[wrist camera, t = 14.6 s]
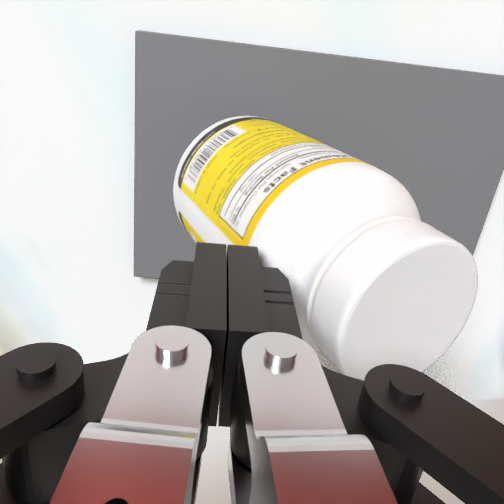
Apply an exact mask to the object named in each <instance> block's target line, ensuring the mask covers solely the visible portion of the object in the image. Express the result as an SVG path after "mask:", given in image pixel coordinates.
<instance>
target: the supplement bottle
mask: <svg viewBox="0 0 504 504" xmlns="http://www.w3.org/2000/svg"><path fill="white" fill-rule="evenodd" d="M173 196H174V205H175V208H176V212H177V215H178V217H179V220H180V222H181V223H182V225H183V227H184V228H185V230H186V231H187V233H188V234H189V235H190V237H191V238H192V239H193V241H194V242H195V243H196V244H197V242H204V243H217V244H226V254H227V246H228V244H230V245H242V246H255V247H258V253H259V260H260V267H272V268H278V269H279V270H280V271H281V272H282V273H283V274H284V275H285V276H286V277H287V278H288V279H289V283H290V287H291V291H292V293H291V294H292V296H293V300H294V305H295V309H296V313H297V317H298V321H299V326H300V330H301V334H302V338H303V340H304V341H305V342H307V343H308V344H309V345H310V346H311V347H312V348H319V349H320V351H321V352H322V353H323V354H324V355H325V357H326V358H328V359H329V360H330V361H331V363H332V364H333V365H334V366H335V367H336V368H337V369H338V370H339V371H340V372H341V373H342V374H343V375H346V376H349V377H353V378H356V379H360V380H363V381H364V379H365V376H366V374H367V373H368V371H369V370H371V369H372V368H374V367H376V366H379V365H383V364H397V365H403V366H407V367H410V368H413V369H415V370H417V371H420V372H423V371H425V370H426V369H427V368H428V367H430V366H431V365H432V364H433V363H435V362H436V361H437V360H438V359H439V358H440V357H441V356H442V355H443V354H444V352H445V351H446V350H447V349H448V348H449V347H450V346H451V344H452V343H453V342H454V340H455V339H456V338H457V336H458V335H459V333H460V332H461V330H462V328H463V327H464V325H465V323H466V321H467V319H468V317H469V315H470V313H471V310H472V307H473V305H474V302H475V298H476V294H477V288H478V273H477V267H476V263H475V260H474V258H473V256H472V255H471V253H470V252H469V251H468V250H467V249H466V248H465V247H464V246H463V245H462V244H461V243H459V242H457V241H456V240H454V239H452V238H450V237H449V236H447V235H445V234H444V233H442V232H440V231H438V230H437V229H435V228H434V227H432V226H431V225H429V224H426V223H424V222H422V221H421V219H420V215H419V211H418V209H417V206H416V204H415V202H414V200H413V198H412V196H411V195H410V193H409V192H408V191H407V189H406V188H405V187H404V186H403V185H402V184H401V183H400V182H399V181H398V180H396V179H395V178H394V177H392V176H391V175H389V174H387V173H386V172H384V171H382V170H380V169H378V168H376V167H375V166H373V165H370V164H368V163H366V162H364V161H361V160H359V159H357V158H355V157H352V156H350V155H348V154H346V153H343V152H342V151H339V150H337V149H335V148H332V147H330V146H328V145H326V144H323V143H321V142H319V141H317V140H315V139H312V138H310V137H308V136H305V135H303V134H301V133H299V132H297V131H294V130H292V129H290V128H288V127H286V126H283V125H281V124H278V123H276V122H273V121H271V120H268V119H265V118H261V117H256V116H237V117H231V118H227V119H224V120H222V121H219V122H217V123H215V124H213V125H212V126H210V127H208V128H207V129H205V130H204V131H203V132H201V133H200V134H199V135H198V136H197V137H196V138H195V139H194V140H193V141H192V143H191V144H190V145H189V146H188V148H187V149H186V150H185V152H184V154H183V156H182V157H181V159H180V162H179V164H178V167H177V170H176V174H175V179H174V186H173Z"/></svg>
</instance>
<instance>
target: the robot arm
mask: <svg viewBox="0 0 504 504" xmlns="http://www.w3.org/2000/svg"><path fill="white" fill-rule="evenodd" d="M291 293H292V291H291V287H290V283H289V279H288V278H287V277H286V276H285V275H284V274H283V273H282V272H281V271H280V270H279V269H278V268H272V267H260V260H259V253H258V247H255V246H242V245H230V244H228V246H227V254H226V244H217V243H204V242H197V244H196V251H195V259H194V262H193V261H180V260H172V261H171V262H170V263H169V264H168V265H167V266H165V267H164V268H163V269H162V270H161V273H160V277H159V281H158V285H157V289H156V295H155V297H154V301H153V305H152V309H151V313H150V317H149V321H148V325H147V329H146V332H144V333H142V334H141V335H140V336H138V337H137V338H136V340H135V341H134V343H133V344H132V347H131V349H130V352H129V353H127V354H126V355H123V356H121V357H118V358H115V359H112V360H107V361H102V362H96V363H90V364H83V360H82V357H81V356H80V354H79V353H78V352H77V351H76V350H74V349H72V348H71V347H69V346H66V345H63V344H58V343H35V344H30V345H26V346H22V347H19V348H17V349H14V350H12V351H10V352H8V353H6V354H4V355H2V356H0V459H1V458H2V461H3V462H2V463H1V464H0V504H195V500H196V492H197V487H198V480H199V473H200V466H201V458H202V452H203V451H204V449H205V446H206V442H207V432H208V426H216V423H217V414H218V405H219V426H226V427H230V447H229V454H228V470H229V481H230V492H231V503H232V504H445V503H444V502H443V501H442V500H440V499H439V498H438V497H437V496H435V495H434V494H433V493H432V492H431V491H429V490H428V489H427V488H426V487H424V486H423V485H422V484H421V483H419V480H420V477H421V475H422V472H423V471H425V472H426V473H427V474H429V475H430V476H431V477H432V478H434V479H435V480H436V481H437V482H439V483H440V484H441V485H443V486H444V487H445V488H446V489H448V490H449V491H450V492H451V493H453V494H454V495H455V496H457V497H458V498H459V499H460V500H461V501H463V502H464V503H465V504H504V425H503V424H502V423H500V422H498V421H497V420H495V419H494V418H492V417H491V416H489V415H488V414H486V413H484V412H483V411H481V410H480V409H478V408H476V407H475V406H474V405H472V404H470V403H469V402H467V401H466V400H464V399H463V398H461V397H460V396H458V395H456V394H455V393H453V392H452V391H450V390H449V389H447V388H446V387H444V386H442V385H441V384H439V383H438V382H436V381H435V380H433V379H432V378H430V377H428V376H427V375H425V374H423V373H422V372H420V371H417V370H415V369H413V368H410V367H407V366H403V365H397V364H383V365H379V366H376V367H374V368H372V369H371V370H369V371H368V373H367V374H366V376H365V379H364V381H363V380H360V379H356V378H353V377H349V376H346V375H342V374H339V373H336V372H334V371H331V370H329V369H327V368H325V367H324V366H322V365H321V364H320V361H319V358H318V356H317V354H316V352H315V350H314V349H313V348H312V347H311V346H310V345H309V344H308V343H307V342H305V341H304V340H303V338H302V334H301V330H300V326H299V321H298V317H297V313H296V309H295V305H294V300H293V296H292V294H291Z"/></svg>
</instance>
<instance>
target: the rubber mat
mask: <svg viewBox="0 0 504 504" xmlns="http://www.w3.org/2000/svg"><path fill="white" fill-rule="evenodd" d="M237 116H256V117H261V118H265V119H268V120H271V121H273V122H276V123H278V124H281V125H283V126H286V127H288V128H290V129H292V130H294V131H297V132H299V133H301V134H303V135H305V136H308V137H310V138H312V139H315V140H317V141H319V142H321V143H323V144H326V145H328V146H330V147H332V148H335V149H337V150H339V151H342V152H343V153H346V154H348V155H350V156H352V157H355V158H357V159H359V160H361V161H364V162H366V163H368V164H370V165H373V166H375V167H376V168H378V169H380V170H382V171H384V172H386V173H387V174H389V175H391V176H392V177H394V178H395V179H396V180H398V181H399V182H400V183H401V184H402V185H403V186H404V187H405V188H406V189H407V191H408V192H409V193H410V195H411V196H412V198H413V200H414V202H415V204H416V206H417V209H418V211H419V215H420V219H421V221H422V222H424V223H426V224H429V225H431V226H432V227H434V228H435V229H437V230H438V231H440V232H442V233H444V234H445V235H447V236H449V237H450V238H452V239H454V240H456V241H457V242H459V243H461V244H462V245H463V246H464V247H465V248H466V249H467V250H468V251H469V252H470V253H471V255H472V256H473V253H474V250H475V247H476V244H477V242H478V239H479V236H480V233H481V230H482V228H483V225H484V222H485V219H486V216H487V214H488V211H489V208H490V205H491V202H492V200H493V197H494V194H495V191H496V188H497V186H498V183H499V180H500V177H501V174H502V172H503V169H504V76H503V75H495V74H486V73H478V72H470V71H462V70H454V69H446V68H438V67H430V66H422V65H414V64H406V63H397V62H389V61H381V60H373V59H365V58H357V57H349V56H341V55H333V54H325V53H317V52H309V51H300V50H292V49H284V48H276V47H268V46H260V45H252V44H244V43H236V42H228V41H220V40H211V39H203V38H195V37H187V36H179V35H171V34H163V33H155V32H147V31H139V30H138V31H136V35H135V178H134V276H136V277H149V278H159V277H160V273H161V270H162V269H163V268H164V267H165V266H167V265H168V264H169V263H170V262H171V261H172V260H180V261H193V262H194V259H195V251H196V243H195V242H194V241H193V239H192V238H191V237H190V235H189V234H188V233H187V231H186V230H185V228H184V227H183V225H182V223H181V222H180V220H179V217H178V215H177V212H176V208H175V205H174V196H173V186H174V179H175V174H176V170H177V167H178V164H179V162H180V159H181V157H182V156H183V154H184V152H185V150H186V149H187V148H188V146H189V145H190V144H191V143H192V141H193V140H194V139H195V138H196V137H197V136H198V135H199V134H200V133H201V132H203V131H204V130H205V129H207V128H208V127H210V126H212V125H213V124H215V123H217V122H219V121H222V120H224V119H227V118H231V117H237Z"/></svg>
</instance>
